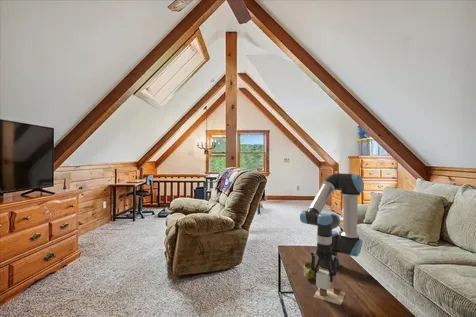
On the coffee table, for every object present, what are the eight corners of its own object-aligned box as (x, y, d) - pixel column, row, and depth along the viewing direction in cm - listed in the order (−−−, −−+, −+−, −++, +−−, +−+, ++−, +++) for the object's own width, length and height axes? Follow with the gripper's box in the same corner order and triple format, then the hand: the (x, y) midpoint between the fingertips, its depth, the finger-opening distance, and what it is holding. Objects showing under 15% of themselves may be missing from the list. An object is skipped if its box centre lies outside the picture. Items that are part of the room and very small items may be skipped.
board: (319, 287, 150) (320, 280, 150) (345, 294, 143) (345, 287, 143) (313, 298, 138) (313, 291, 138) (341, 307, 131) (341, 299, 131)
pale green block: (319, 282, 144) (319, 269, 144) (329, 285, 141) (330, 271, 141) (316, 287, 139) (316, 272, 139) (327, 290, 136) (327, 275, 136)
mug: (307, 268, 171) (310, 256, 167) (320, 278, 164) (324, 266, 160) (296, 277, 163) (298, 265, 159) (309, 288, 156) (312, 275, 152)
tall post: (321, 292, 142) (321, 282, 142) (326, 294, 141) (326, 284, 141) (319, 295, 140) (319, 285, 140) (325, 296, 138) (325, 286, 138)
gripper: (305, 241, 142) (304, 283, 142) (341, 248, 132) (340, 293, 132) (309, 238, 148) (308, 278, 148) (343, 244, 138) (342, 287, 138)
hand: (323, 285), depth 140 cm, fingers closed on pale green block, 6 cm apart
